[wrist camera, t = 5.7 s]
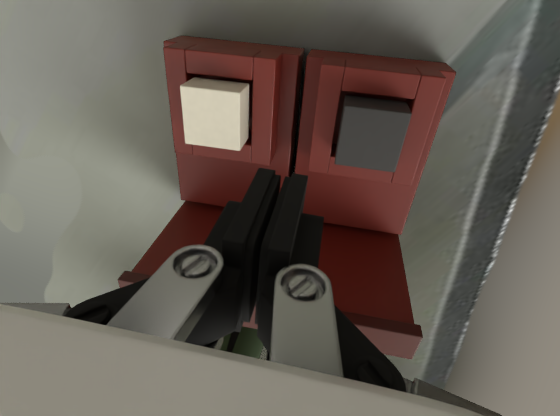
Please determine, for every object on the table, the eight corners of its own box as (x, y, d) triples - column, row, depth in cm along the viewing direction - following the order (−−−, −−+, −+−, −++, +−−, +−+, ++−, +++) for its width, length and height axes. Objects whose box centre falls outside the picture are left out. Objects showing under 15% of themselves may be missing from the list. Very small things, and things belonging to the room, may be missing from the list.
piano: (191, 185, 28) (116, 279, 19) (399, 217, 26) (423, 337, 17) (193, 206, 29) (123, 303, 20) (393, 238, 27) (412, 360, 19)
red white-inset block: (180, 34, 22) (145, 44, 18) (304, 47, 21) (294, 61, 17) (193, 184, 28) (169, 214, 24) (289, 198, 27) (279, 233, 23)
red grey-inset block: (311, 47, 21) (302, 62, 17) (446, 61, 20) (467, 79, 16) (294, 199, 27) (285, 234, 23) (397, 215, 26) (405, 253, 23)
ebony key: (345, 94, 18) (344, 105, 17) (406, 101, 18) (412, 113, 16) (335, 150, 20) (334, 164, 18) (391, 157, 20) (395, 173, 18)
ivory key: (193, 76, 19) (179, 85, 17) (249, 83, 19) (240, 92, 17) (197, 131, 21) (184, 143, 19) (248, 138, 20) (239, 151, 19)
